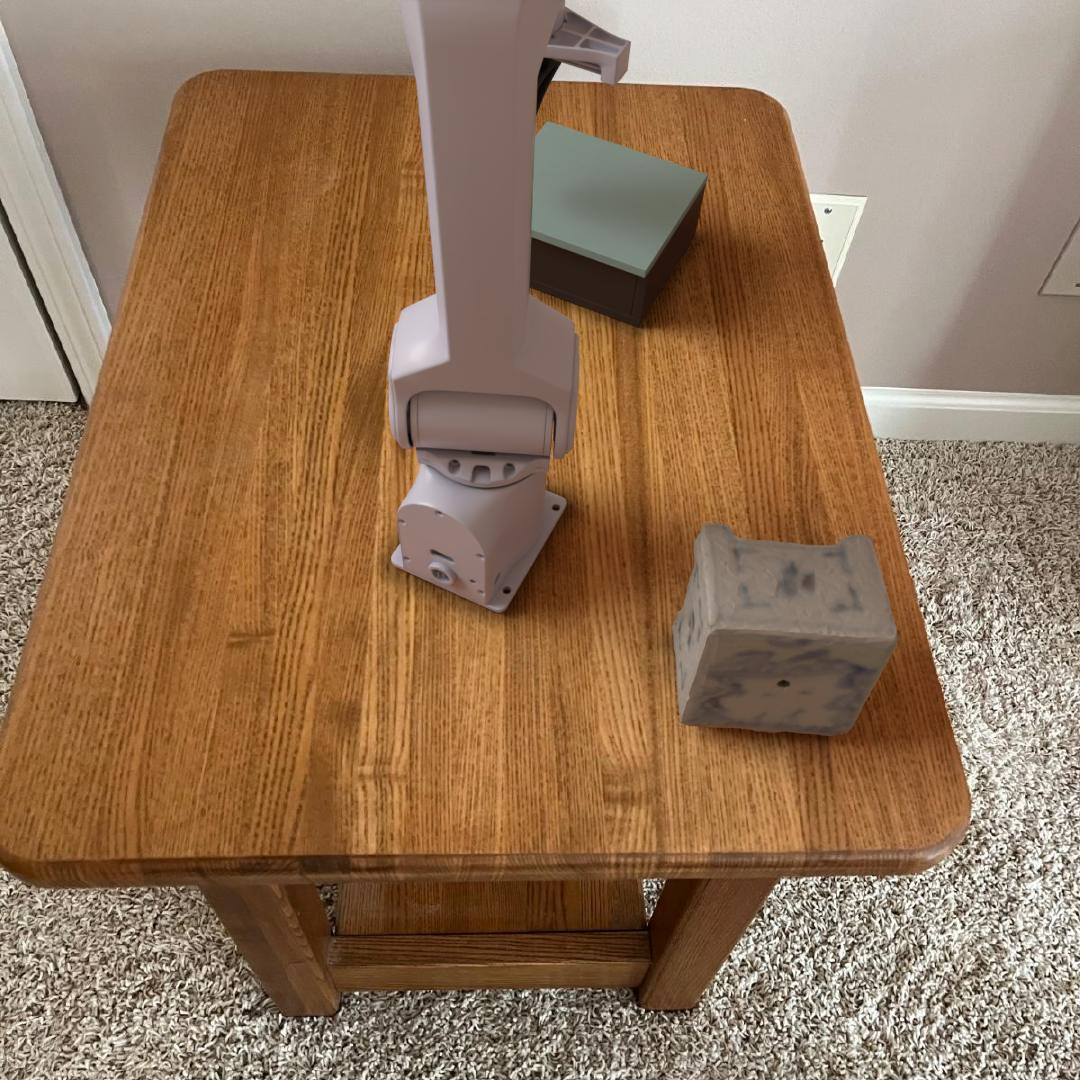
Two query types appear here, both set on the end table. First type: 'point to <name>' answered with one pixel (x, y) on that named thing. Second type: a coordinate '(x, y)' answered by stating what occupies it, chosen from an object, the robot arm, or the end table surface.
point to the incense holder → (781, 633)
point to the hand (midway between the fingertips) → (515, 146)
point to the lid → (607, 198)
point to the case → (610, 275)
